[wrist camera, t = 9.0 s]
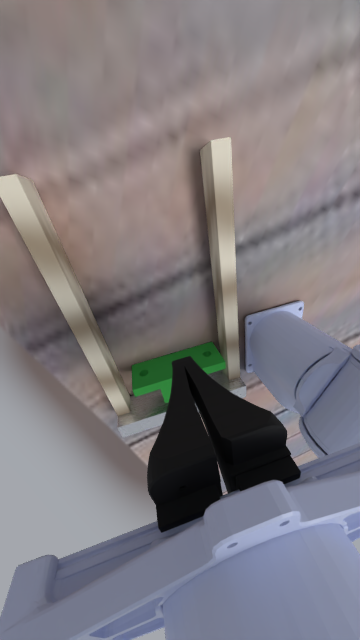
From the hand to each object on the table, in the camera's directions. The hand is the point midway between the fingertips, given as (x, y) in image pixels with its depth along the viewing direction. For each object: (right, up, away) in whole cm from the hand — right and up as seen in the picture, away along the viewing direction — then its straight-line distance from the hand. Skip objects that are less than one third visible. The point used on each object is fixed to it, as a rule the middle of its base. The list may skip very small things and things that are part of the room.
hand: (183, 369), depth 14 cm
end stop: (0, -6, +14) cm, 15 cm away
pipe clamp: (-1, -2, +12) cm, 12 cm away
